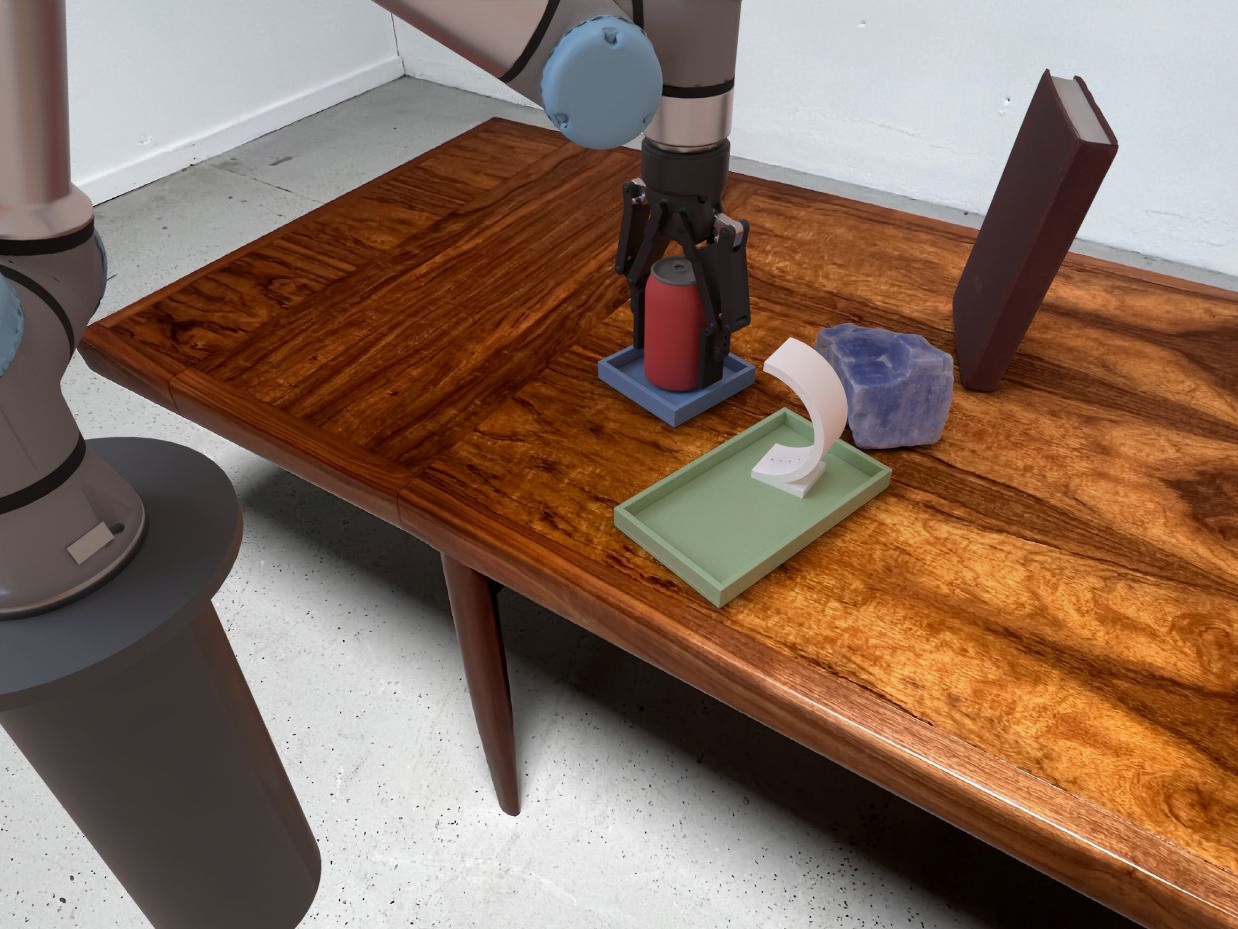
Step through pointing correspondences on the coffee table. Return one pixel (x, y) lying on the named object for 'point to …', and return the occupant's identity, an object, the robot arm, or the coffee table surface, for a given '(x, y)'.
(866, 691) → the coffee table surface
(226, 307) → the coffee table surface
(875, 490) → the green tray
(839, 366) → the mineral
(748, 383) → the blue tray
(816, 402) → the headphone stand
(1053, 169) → the book
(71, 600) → the robot arm
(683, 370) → the beer can
